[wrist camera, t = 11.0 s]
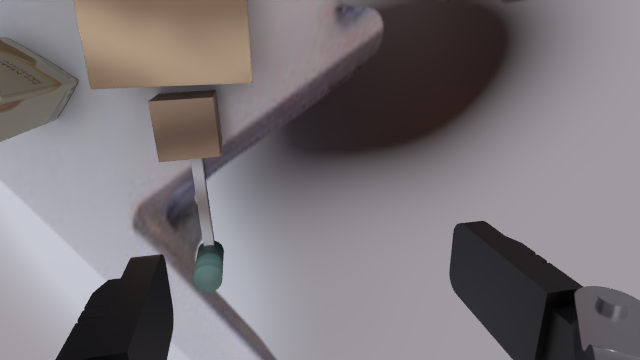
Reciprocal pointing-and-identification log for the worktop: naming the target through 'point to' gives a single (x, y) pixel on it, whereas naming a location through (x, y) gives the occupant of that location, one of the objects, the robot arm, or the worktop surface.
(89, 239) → the worktop surface
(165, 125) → the mallet
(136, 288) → the robot arm
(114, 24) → the oak cubby
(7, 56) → the skincare box
